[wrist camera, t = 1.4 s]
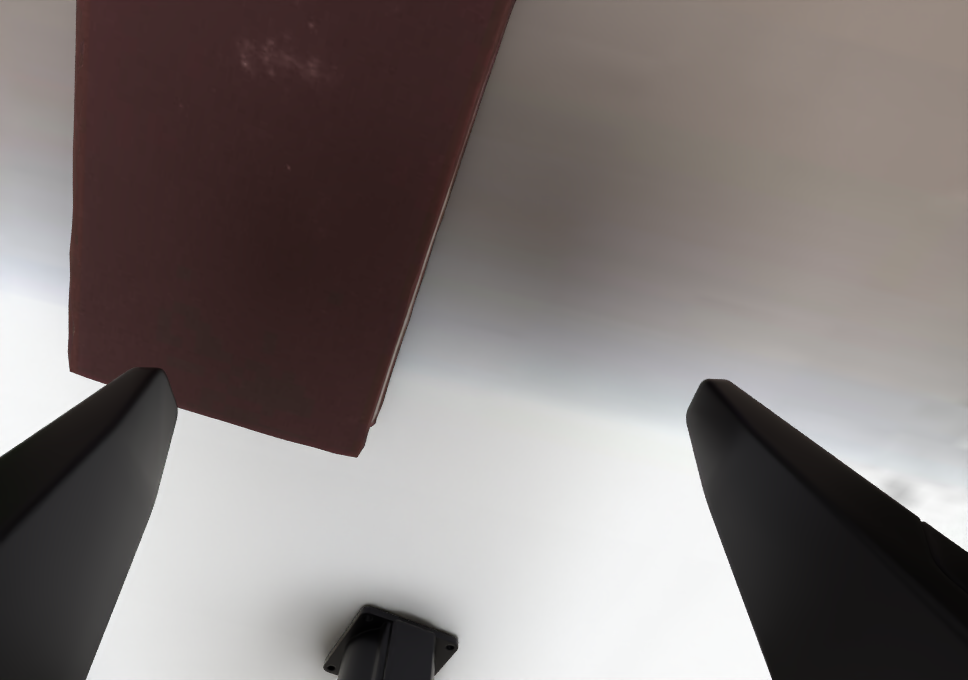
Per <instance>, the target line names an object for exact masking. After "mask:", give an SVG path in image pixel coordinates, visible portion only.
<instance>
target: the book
mask: <svg viewBox="0 0 968 680" xmlns="http://www.w3.org/2000/svg"><path fill="white" fill-rule="evenodd" d="M515 1H516V0H76V56H75V99H74V137H73V219H72V233H71V243H70V288H69V339H68V358H69V368H70V372H73V373H75V374H78V375H81V376H84V377H86V378H89V379H92V380H95V381H98V382H101V383H104V384H109V383H110V382H112V381H113V380H115V379H116V378H118V377H119V376H120V375H122V374H123V373H125V372H126V371H128V370H130V369H132V368H135V367H157V368H161V369H163V370H164V371H165V373H166V375H167V377H168V380H169V383H170V386H171V388H172V391H173V394H174V397H175V400H176V403H177V407H178V408H181V409H185V410H188V411H191V412H195V413H198V414H201V415H204V416H208V417H211V418H214V419H218V420H221V421H224V422H228V423H231V424H234V425H237V426H241V427H244V428H247V429H250V430H254V431H257V432H260V433H263V434H267V435H270V436H273V437H277V438H280V439H284V440H287V441H291V442H295V443H299V444H303V445H307V446H311V447H315V448H318V449H321V450H325V451H328V452H332V453H335V454H340V455H345V456H351V457H356V458H357V457H358V455H359V454H360V452H361V451H362V449H363V448H364V446H365V442H366V439H367V435H368V431H369V428H370V427H372V426H373V425H374V424H375V423H376V419H377V416H378V414H379V411H380V409H381V406H382V404H383V401H384V397H385V394H386V391H387V387H388V384H389V380H390V377H391V374H392V371H393V368H394V365H395V362H396V359H397V356H398V353H399V350H400V346H401V343H402V340H403V337H404V334H405V331H406V329H407V326H408V323H409V320H410V317H411V313H412V310H413V306H414V303H415V300H416V297H417V294H418V291H419V288H420V285H421V282H422V279H423V276H424V273H425V270H426V266H427V263H428V260H429V257H430V254H431V251H432V247H433V243H434V240H435V236H436V234H437V231H438V229H439V226H440V224H441V221H442V218H443V216H444V212H445V209H446V206H447V203H448V200H449V197H450V194H451V191H452V187H453V184H454V181H455V178H456V175H457V172H458V169H459V166H460V163H461V160H462V157H463V154H464V151H465V148H466V145H467V142H468V139H469V136H470V133H471V130H472V127H473V124H474V121H475V118H476V115H477V112H478V109H479V106H480V103H481V100H482V96H483V94H484V91H485V88H486V85H487V82H488V79H489V76H490V73H491V70H492V67H493V65H494V62H495V59H496V56H497V53H498V50H499V47H500V44H501V41H502V38H503V35H504V32H505V29H506V26H507V23H508V20H509V17H510V14H511V12H512V9H513V6H514V4H515Z"/></svg>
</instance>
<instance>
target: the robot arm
mask: <svg viewBox="0 0 968 680" xmlns="http://www.w3.org/2000/svg"><path fill="white" fill-rule="evenodd" d="M177 413H178V409H177V403H176V400H175V397H174V394H173V391H172V388H171V386H170V383H169V380H168V377H167V375H166V373H165V371H164V370H163V369H161V368H157V367H135V368H132V369H130V370H128V371H126V372H125V373H123V374H122V375H120V376H119V377H118V378H116V379H115V380H113V381H112V382H110V383H109V384H107V385H106V386H104V387H103V388H101V389H100V390H98V391H97V392H95V393H94V394H92V395H91V396H90V397H88V398H87V399H85V400H84V401H82V402H81V403H79V404H78V405H76V406H75V407H73V408H72V409H70V410H69V411H67V412H66V413H64V414H63V415H61V416H60V417H59V418H57V419H56V420H54V421H53V422H51V423H50V424H48V425H47V426H45V427H44V428H42V429H41V430H39V431H38V432H36V433H35V434H33V435H32V436H31V437H29V438H28V439H26V440H25V441H23V442H22V443H20V444H19V445H17V446H16V447H14V448H13V449H11V450H10V451H8V452H7V453H5V454H4V455H2V456H1V457H0V680H86V678H87V675H88V673H89V670H90V667H91V665H92V662H93V660H94V657H95V655H96V652H97V650H98V647H99V645H100V642H101V640H102V637H103V634H104V632H105V629H106V627H107V624H108V622H109V619H110V617H111V614H112V612H113V609H114V607H115V604H116V602H117V599H118V596H119V594H120V591H121V589H122V586H123V584H124V581H125V579H126V576H127V574H128V571H129V569H130V566H131V563H132V561H133V558H134V556H135V553H136V551H137V548H138V546H139V543H140V541H141V538H142V536H143V533H144V530H145V528H146V525H147V523H148V520H149V518H150V515H151V512H152V509H153V507H154V503H155V500H156V497H157V493H158V489H159V486H160V482H161V478H162V474H163V470H164V466H165V462H166V459H167V455H168V451H169V447H170V443H171V439H172V435H173V432H174V428H175V424H176V420H177ZM686 423H687V427H688V431H689V435H690V439H691V443H692V447H693V451H694V455H695V459H696V463H697V467H698V471H699V475H700V479H701V483H702V487H703V491H704V494H705V498H706V501H707V504H708V507H709V510H710V512H711V515H712V518H713V521H714V523H715V526H716V529H717V531H718V534H719V537H720V539H721V542H722V545H723V548H724V550H725V553H726V556H727V558H728V561H729V564H730V567H731V569H732V572H733V575H734V577H735V580H736V583H737V586H738V588H739V591H740V594H741V596H742V599H743V602H744V604H745V607H746V610H747V613H748V615H749V618H750V621H751V623H752V626H753V629H754V632H755V634H756V637H757V640H758V642H759V645H760V648H761V651H762V653H763V656H764V659H765V661H766V664H767V667H768V669H769V672H770V675H771V678H772V680H968V552H967V551H965V550H964V549H962V548H961V547H960V546H958V545H957V544H955V543H954V542H952V541H951V540H950V539H948V538H947V537H945V536H944V535H943V534H941V533H940V532H938V531H937V530H936V529H934V528H933V527H932V526H930V525H929V524H927V523H926V522H921V520H920V518H919V517H918V516H916V515H915V514H913V513H912V512H911V511H909V510H908V509H906V508H905V507H904V506H902V505H901V504H900V503H898V502H897V501H895V500H894V499H893V498H891V497H890V496H888V495H887V494H886V493H884V492H883V491H881V490H880V489H879V488H877V487H876V486H875V485H873V484H872V483H870V482H869V481H868V480H866V479H865V478H863V477H862V476H861V475H859V474H858V473H857V472H855V471H854V470H852V469H851V468H850V467H848V466H847V465H845V464H844V463H843V462H841V461H840V460H838V459H837V458H836V457H834V456H833V455H832V454H830V453H829V452H827V451H826V450H825V449H823V448H822V447H820V446H819V445H818V444H816V443H815V442H814V441H812V440H811V439H809V438H808V437H807V436H805V435H804V434H802V433H801V432H800V431H798V430H797V429H795V428H794V427H793V426H791V425H790V424H789V423H787V422H786V421H784V420H783V419H782V418H780V417H779V416H777V415H776V414H775V413H773V412H772V411H771V410H769V409H768V408H766V407H765V406H764V405H762V404H761V403H759V402H758V401H757V400H755V399H754V398H752V397H751V396H750V395H748V394H747V393H746V392H744V391H743V390H741V389H740V388H739V387H737V386H736V385H734V384H733V383H732V382H730V381H728V380H725V379H706V380H704V381H703V382H701V384H700V385H699V387H698V389H697V391H696V393H695V395H694V397H693V399H692V402H691V404H690V406H689V408H688V410H687V414H686ZM457 649H458V639H457V638H455V637H453V636H450V635H448V634H445V633H442V632H439V631H437V630H434V629H431V628H428V627H426V626H423V625H420V624H417V623H415V622H412V621H409V620H406V619H404V618H401V617H398V616H395V615H393V614H390V613H387V612H385V611H382V610H379V609H376V608H374V607H370V606H367V607H363V608H362V609H361V610H360V612H359V613H358V614H357V616H356V617H355V619H354V620H353V621H352V623H351V624H350V626H349V627H348V628H347V630H346V631H345V633H344V634H343V635H342V637H341V638H340V640H339V641H338V642H337V644H336V645H335V647H334V648H333V649H332V651H331V652H330V654H329V655H328V657H327V658H326V659H325V663H324V666H323V668H324V670H325V671H327V672H329V673H332V674H335V675H338V679H337V680H434V676H435V675H436V674H437V672H438V671H439V670H440V669H441V668H442V667H443V666H444V665H445V663H446V662H447V661H448V660H449V659H450V658H451V657H452V655H453V654H454V653H455V652H456V651H457Z"/></svg>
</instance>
